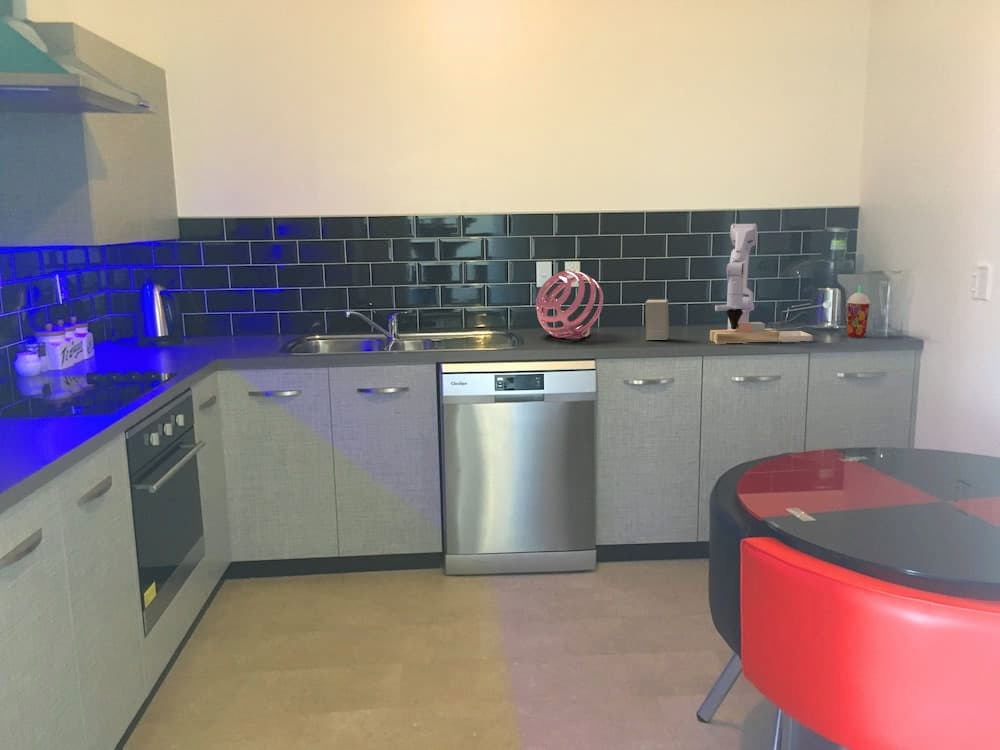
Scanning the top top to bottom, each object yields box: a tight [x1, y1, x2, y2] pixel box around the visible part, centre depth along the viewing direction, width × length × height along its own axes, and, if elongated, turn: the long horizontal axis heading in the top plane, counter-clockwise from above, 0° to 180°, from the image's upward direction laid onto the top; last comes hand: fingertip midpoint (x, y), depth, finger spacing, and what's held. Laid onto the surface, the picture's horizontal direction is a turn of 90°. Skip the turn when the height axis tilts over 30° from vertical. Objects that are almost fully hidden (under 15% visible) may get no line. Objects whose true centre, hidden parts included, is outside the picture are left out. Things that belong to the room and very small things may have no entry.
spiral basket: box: [535, 270, 604, 340], centre depth 338 cm, size 28×28×27 cm
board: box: [709, 328, 781, 345], centre depth 323 cm, size 9×24×4 cm, turn 93°
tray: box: [779, 330, 814, 343], centre depth 324 cm, size 11×12×2 cm
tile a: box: [735, 322, 752, 332], centre depth 322 cm, size 5×5×3 cm
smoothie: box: [846, 285, 871, 339], centre depth 327 cm, size 8×8×20 cm
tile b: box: [748, 321, 766, 332], centre depth 322 cm, size 5×5×3 cm
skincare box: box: [644, 299, 670, 341], centre depth 328 cm, size 8×7×16 cm
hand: (733, 329), depth 322 cm, fingers closed
